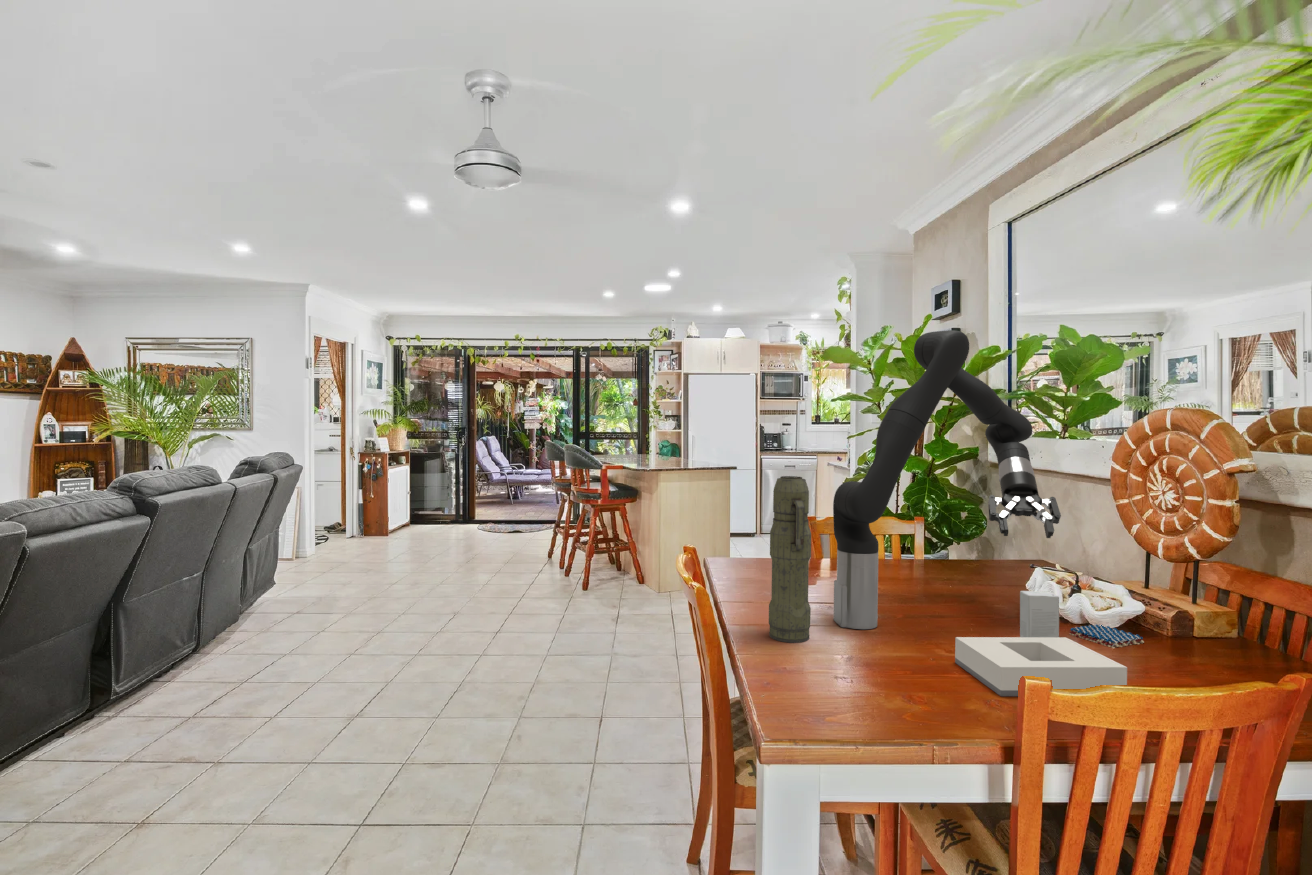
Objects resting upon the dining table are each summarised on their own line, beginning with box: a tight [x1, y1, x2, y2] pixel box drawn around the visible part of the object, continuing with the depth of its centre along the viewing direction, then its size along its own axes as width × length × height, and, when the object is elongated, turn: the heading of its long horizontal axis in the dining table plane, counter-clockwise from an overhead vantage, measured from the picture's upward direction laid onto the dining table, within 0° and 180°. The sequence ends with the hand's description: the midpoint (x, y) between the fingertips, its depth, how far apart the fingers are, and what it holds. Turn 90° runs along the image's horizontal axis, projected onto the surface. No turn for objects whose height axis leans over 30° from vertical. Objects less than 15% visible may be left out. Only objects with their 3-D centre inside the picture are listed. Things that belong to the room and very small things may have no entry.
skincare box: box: [1019, 590, 1060, 637], centre depth 134 cm, size 6×4×12 cm
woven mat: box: [1068, 623, 1145, 649], centre depth 143 cm, size 10×11×2 cm
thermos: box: [768, 475, 812, 644], centre depth 142 cm, size 9×12×35 cm
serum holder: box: [954, 636, 1128, 697], centre depth 119 cm, size 22×16×5 cm
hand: (1027, 535), depth 145 cm, fingers open, 8 cm apart
